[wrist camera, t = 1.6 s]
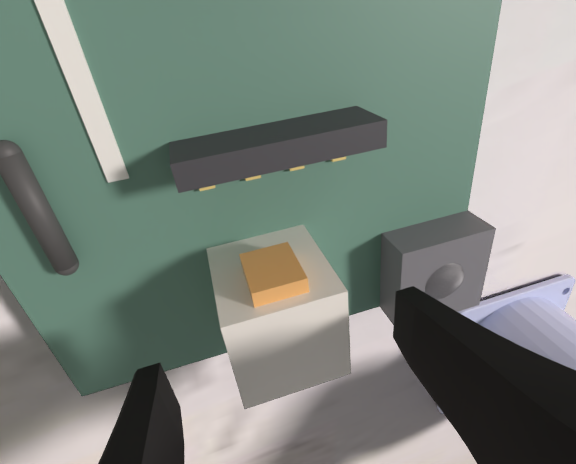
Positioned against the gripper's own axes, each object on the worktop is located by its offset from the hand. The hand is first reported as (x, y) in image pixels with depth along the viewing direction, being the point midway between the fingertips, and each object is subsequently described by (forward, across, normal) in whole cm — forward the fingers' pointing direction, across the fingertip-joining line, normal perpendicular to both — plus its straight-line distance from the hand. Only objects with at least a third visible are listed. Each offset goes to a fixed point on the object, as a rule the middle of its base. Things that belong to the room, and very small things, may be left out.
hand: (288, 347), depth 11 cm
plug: (+4, 0, 0) cm, 4 cm away
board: (+5, -1, -4) cm, 6 cm away
